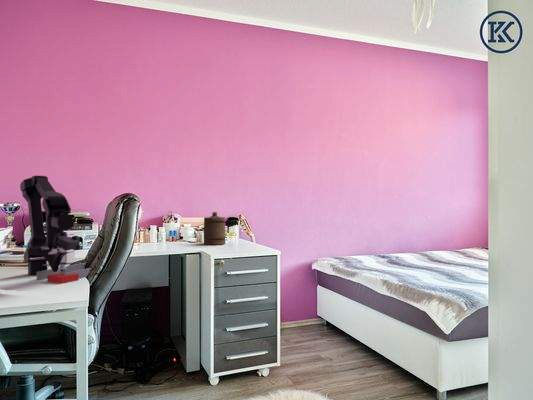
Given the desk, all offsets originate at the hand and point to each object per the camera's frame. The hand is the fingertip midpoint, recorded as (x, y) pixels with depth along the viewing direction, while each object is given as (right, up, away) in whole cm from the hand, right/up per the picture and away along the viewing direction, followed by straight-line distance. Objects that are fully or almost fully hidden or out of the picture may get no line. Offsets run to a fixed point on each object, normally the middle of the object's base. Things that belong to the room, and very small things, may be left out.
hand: (55, 271), depth 150 cm
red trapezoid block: (+4, -4, -2) cm, 6 cm away
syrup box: (-18, -4, +45) cm, 48 cm away
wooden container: (+42, -4, +131) cm, 138 cm away
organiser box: (+3, -3, +10) cm, 11 cm away
